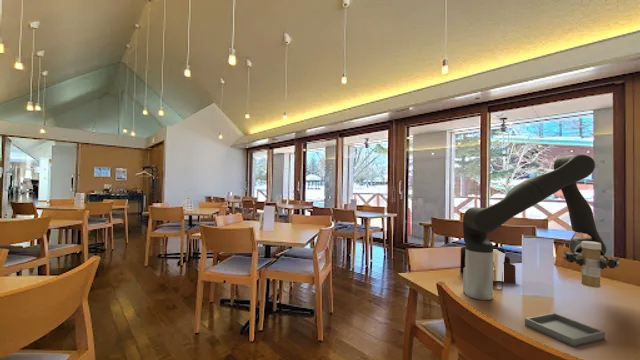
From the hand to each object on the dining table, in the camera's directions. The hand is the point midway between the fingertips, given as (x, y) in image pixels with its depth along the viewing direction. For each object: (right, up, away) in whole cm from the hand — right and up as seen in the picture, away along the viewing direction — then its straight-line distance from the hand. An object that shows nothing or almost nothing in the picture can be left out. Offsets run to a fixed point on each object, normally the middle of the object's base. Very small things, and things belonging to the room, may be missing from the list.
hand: (591, 264), depth 90 cm
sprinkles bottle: (+2, -7, +2) cm, 8 cm away
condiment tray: (-12, -18, -4) cm, 22 cm away
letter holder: (-6, -20, +46) cm, 50 cm away
